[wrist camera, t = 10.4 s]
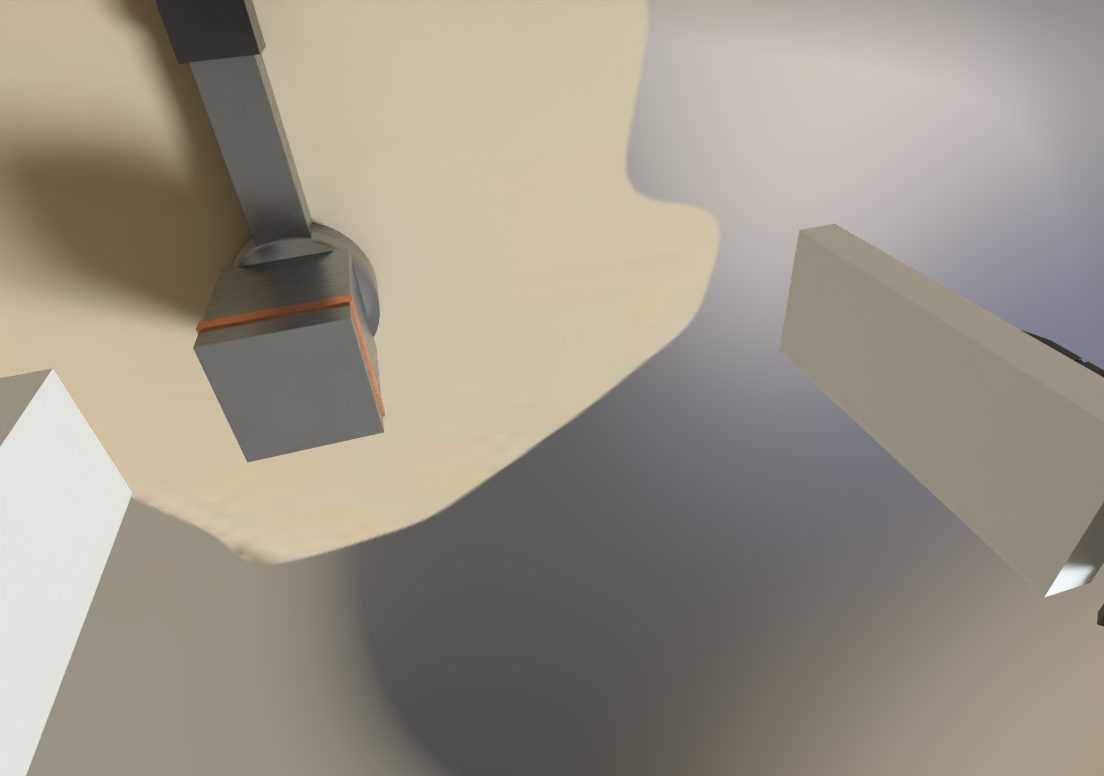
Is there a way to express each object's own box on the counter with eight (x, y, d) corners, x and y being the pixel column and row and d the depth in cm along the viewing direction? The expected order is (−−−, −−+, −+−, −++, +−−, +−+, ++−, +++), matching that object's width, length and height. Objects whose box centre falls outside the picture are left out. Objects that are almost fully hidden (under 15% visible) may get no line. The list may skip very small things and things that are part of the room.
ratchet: (44, -167, 25) (-33, -195, 20) (259, -179, 26) (238, -208, 21) (258, 358, 39) (246, 421, 34) (390, 333, 41) (397, 390, 35)
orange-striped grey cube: (218, 268, 33) (189, 346, 26) (350, 245, 34) (352, 315, 28) (262, 374, 37) (246, 464, 30) (378, 350, 38) (386, 433, 31)
